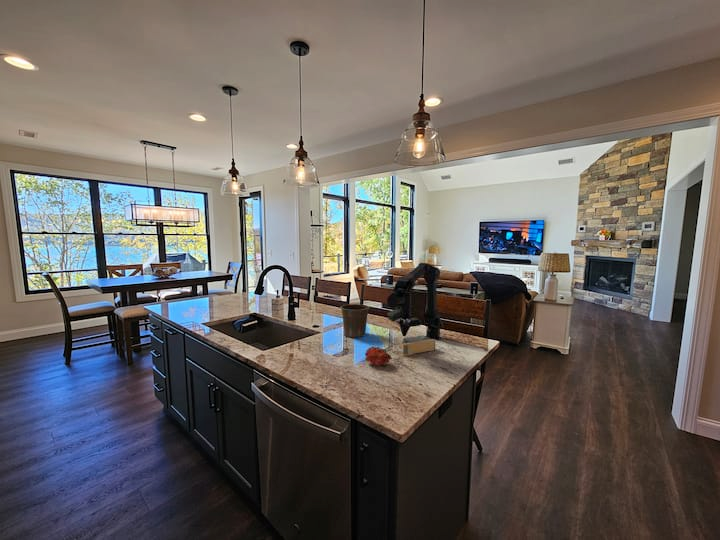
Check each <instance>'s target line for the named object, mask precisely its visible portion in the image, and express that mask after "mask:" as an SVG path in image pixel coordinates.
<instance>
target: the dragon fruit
mask: <svg viewBox="0 0 720 540" xmlns="http://www.w3.org/2000/svg"><path fill="white" fill-rule="evenodd" d="M364 355H365V358H364V360H366V361H368V362H369V363H370V364H371V366H373V367H374V366H379V367H380V368H383V367H386V365H385V364H389V362H390V360H393V359H392V356H391V354H389V353H387V351H386V350H385V349H383V348H380V346H377V347H376V346H373V345H372V346H371V347H368V349H366V351H365V353H364Z"/></svg>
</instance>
